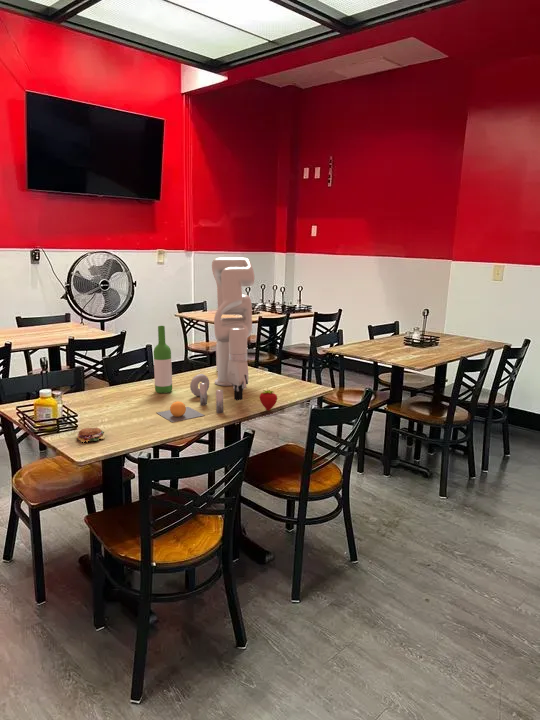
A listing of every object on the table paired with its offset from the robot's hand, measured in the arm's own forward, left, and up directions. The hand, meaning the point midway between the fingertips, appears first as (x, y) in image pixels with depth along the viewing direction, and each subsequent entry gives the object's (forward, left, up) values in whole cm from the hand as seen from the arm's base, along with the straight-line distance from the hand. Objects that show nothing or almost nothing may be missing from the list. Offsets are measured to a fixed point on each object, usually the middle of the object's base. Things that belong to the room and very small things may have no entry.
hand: (238, 399), depth 225 cm
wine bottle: (+18, -35, -2) cm, 39 cm away
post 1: (+13, -7, -2) cm, 15 cm away
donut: (+8, -19, -2) cm, 21 cm away
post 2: (+13, +7, -2) cm, 15 cm away
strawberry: (-4, +16, -2) cm, 17 cm away
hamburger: (+65, +8, -2) cm, 66 cm away
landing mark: (+27, 0, -2) cm, 27 cm away
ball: (+29, +2, +2) cm, 29 cm away
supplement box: (-26, -52, -2) cm, 58 cm away
